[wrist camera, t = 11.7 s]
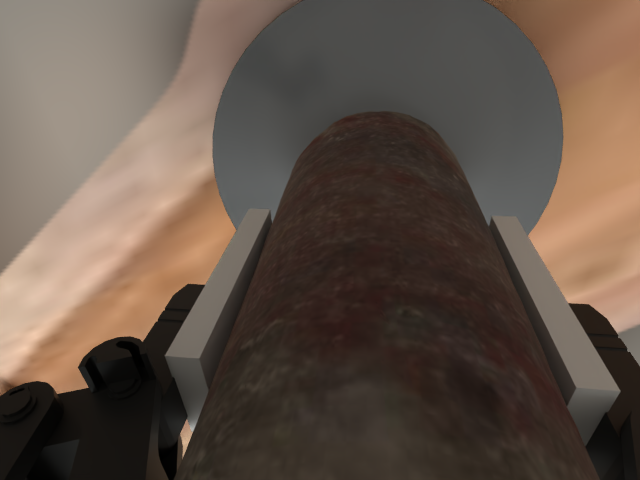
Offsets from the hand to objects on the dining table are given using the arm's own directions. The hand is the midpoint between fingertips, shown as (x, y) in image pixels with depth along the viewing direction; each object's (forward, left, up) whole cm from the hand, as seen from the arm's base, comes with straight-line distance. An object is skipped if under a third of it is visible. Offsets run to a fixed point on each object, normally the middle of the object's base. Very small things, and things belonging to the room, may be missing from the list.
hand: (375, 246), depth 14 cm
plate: (0, 0, -7) cm, 7 cm away
